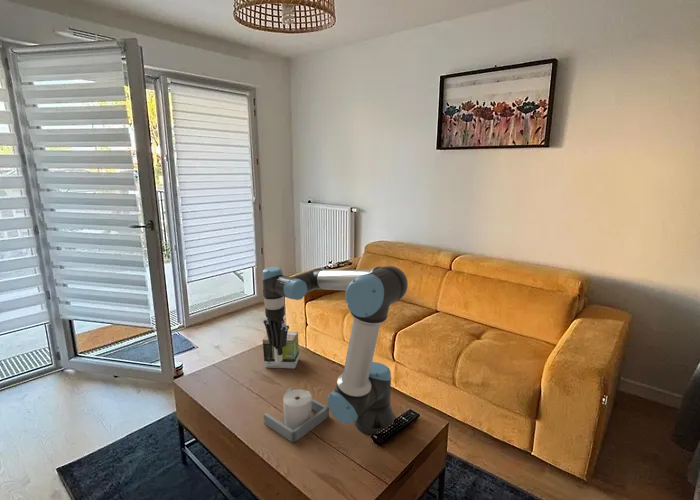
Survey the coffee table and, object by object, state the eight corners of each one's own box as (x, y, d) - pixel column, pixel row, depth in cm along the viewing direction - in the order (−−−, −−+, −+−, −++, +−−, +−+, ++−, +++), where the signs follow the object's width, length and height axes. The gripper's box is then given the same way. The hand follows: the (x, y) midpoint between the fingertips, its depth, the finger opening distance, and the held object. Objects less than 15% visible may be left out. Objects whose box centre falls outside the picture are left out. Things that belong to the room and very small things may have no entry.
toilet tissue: (300, 434, 141) (299, 409, 138) (275, 422, 147) (274, 399, 144) (317, 417, 150) (317, 394, 147) (293, 407, 155) (292, 385, 153)
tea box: (299, 358, 193) (298, 331, 189) (294, 369, 183) (293, 340, 180) (270, 357, 194) (268, 330, 191) (263, 368, 185) (262, 339, 181)
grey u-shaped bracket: (329, 416, 150) (328, 407, 149) (293, 443, 136) (292, 433, 135) (300, 400, 160) (299, 391, 159) (264, 423, 146) (263, 414, 145)
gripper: (293, 307, 151) (296, 362, 156) (271, 300, 159) (275, 353, 164) (278, 313, 145) (282, 370, 150) (256, 305, 153) (261, 360, 158)
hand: (278, 361), depth 157 cm, fingers closed
